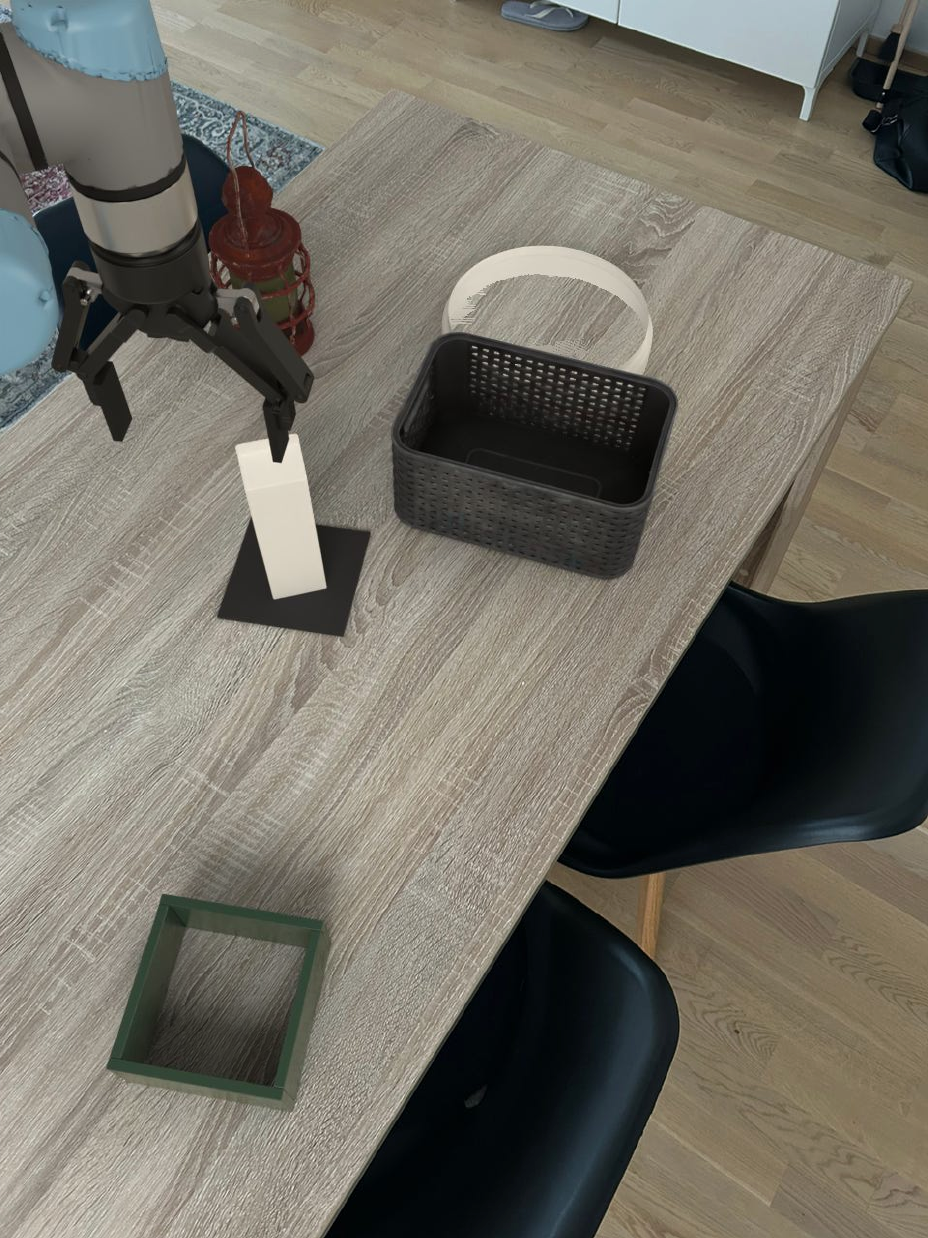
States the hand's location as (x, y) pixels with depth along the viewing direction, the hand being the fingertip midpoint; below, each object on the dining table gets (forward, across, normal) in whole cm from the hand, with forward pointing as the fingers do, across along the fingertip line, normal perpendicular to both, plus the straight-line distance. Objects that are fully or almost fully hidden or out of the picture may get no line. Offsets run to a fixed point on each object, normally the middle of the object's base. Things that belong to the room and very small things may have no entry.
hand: (201, 440), depth 87 cm
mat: (+30, -3, -7) cm, 31 cm away
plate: (+29, -27, -48) cm, 62 cm away
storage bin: (+29, -27, -23) cm, 46 cm away
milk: (+29, -3, -7) cm, 30 cm away
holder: (+30, -8, +39) cm, 50 cm away
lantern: (+30, +8, -44) cm, 53 cm away
